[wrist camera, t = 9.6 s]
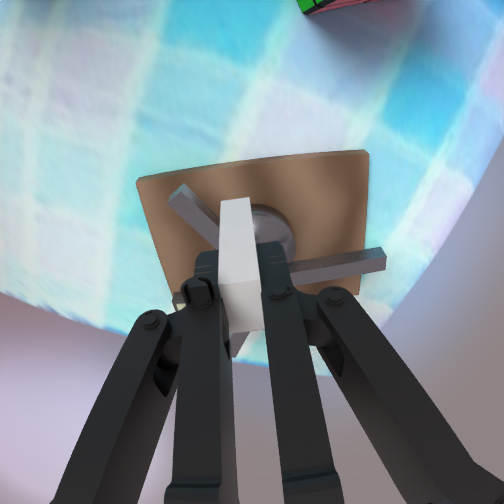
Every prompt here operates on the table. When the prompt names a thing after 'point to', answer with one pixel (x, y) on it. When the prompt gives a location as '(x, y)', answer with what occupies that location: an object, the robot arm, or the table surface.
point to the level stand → (271, 194)
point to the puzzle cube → (326, 5)
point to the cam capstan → (278, 229)
